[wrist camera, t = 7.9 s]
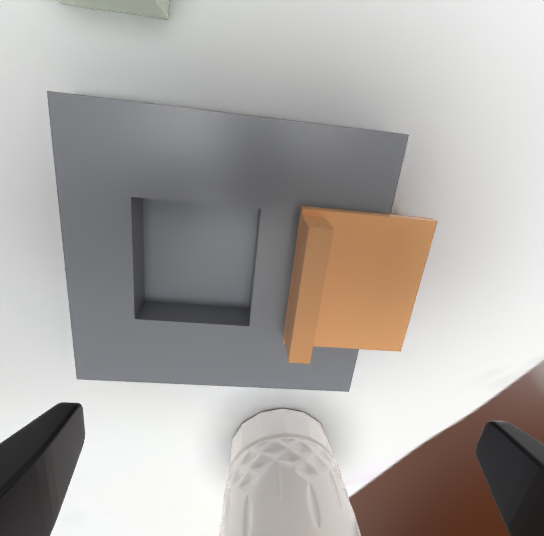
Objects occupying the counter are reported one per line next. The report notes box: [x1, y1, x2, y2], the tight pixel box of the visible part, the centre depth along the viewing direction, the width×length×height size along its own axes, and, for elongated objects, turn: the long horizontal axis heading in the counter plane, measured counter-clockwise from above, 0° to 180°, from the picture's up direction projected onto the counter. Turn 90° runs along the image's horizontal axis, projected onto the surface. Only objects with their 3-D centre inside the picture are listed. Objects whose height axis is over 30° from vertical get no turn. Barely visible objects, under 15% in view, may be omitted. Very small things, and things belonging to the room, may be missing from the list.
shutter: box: [283, 206, 437, 364], centre depth 17 cm, size 6×7×2 cm
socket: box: [47, 91, 409, 392], centre depth 19 cm, size 15×14×2 cm
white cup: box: [219, 409, 361, 536], centre depth 21 cm, size 8×8×10 cm
